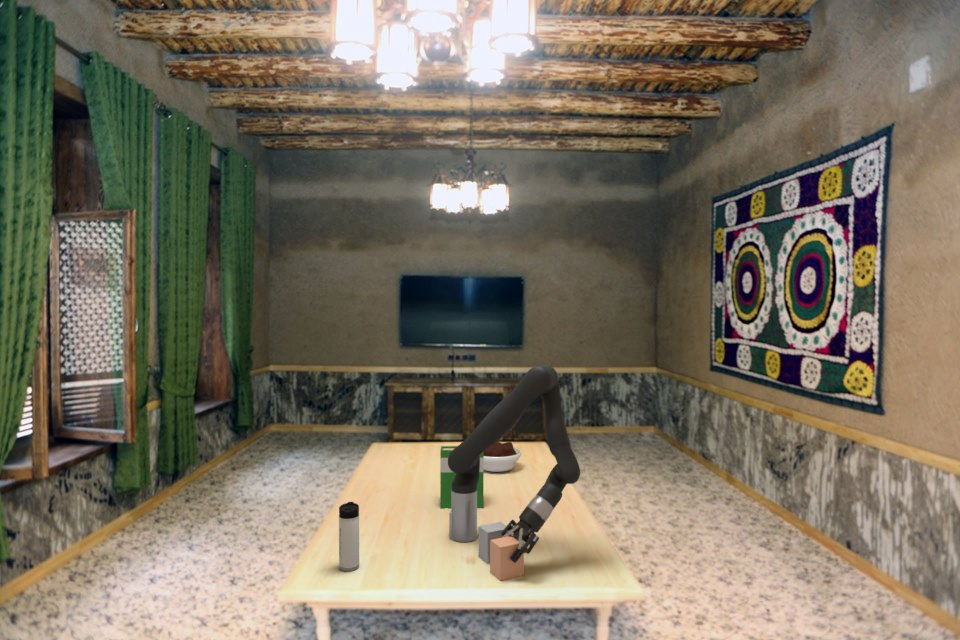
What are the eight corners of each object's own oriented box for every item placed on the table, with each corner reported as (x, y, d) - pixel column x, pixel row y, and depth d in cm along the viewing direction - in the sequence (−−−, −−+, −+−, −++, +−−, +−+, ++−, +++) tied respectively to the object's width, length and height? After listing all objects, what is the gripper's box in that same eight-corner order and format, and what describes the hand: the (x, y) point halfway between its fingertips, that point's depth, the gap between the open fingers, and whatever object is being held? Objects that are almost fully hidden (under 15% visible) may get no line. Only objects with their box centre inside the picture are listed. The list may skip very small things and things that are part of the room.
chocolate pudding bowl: (463, 466, 308) (464, 437, 308) (506, 461, 319) (506, 432, 318) (484, 479, 286) (484, 447, 285) (530, 473, 296) (530, 443, 296)
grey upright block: (487, 563, 193) (487, 532, 192) (478, 556, 198) (478, 526, 198) (510, 558, 197) (510, 528, 196) (500, 551, 202) (500, 521, 202)
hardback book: (482, 502, 253) (482, 445, 252) (483, 508, 245) (483, 450, 245) (440, 502, 252) (441, 446, 251) (440, 508, 245) (440, 450, 244)
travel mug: (360, 562, 194) (360, 501, 193) (357, 571, 187) (357, 508, 186) (341, 562, 193) (341, 501, 193) (337, 571, 187) (337, 508, 186)
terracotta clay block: (500, 580, 181) (500, 547, 181) (490, 572, 187) (490, 540, 187) (523, 574, 185) (523, 542, 185) (513, 566, 191) (513, 535, 190)
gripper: (517, 499, 195) (487, 540, 190) (542, 513, 183) (509, 557, 178) (531, 513, 198) (501, 554, 193) (556, 527, 185) (524, 571, 180)
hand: (505, 555), depth 185 cm, fingers open, 8 cm apart
